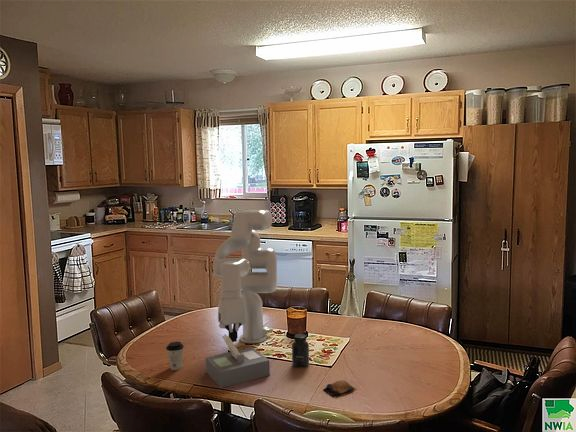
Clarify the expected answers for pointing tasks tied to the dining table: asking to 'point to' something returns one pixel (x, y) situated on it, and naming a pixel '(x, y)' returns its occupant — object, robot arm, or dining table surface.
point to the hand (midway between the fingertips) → (233, 340)
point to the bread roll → (339, 388)
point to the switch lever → (231, 346)
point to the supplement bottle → (300, 351)
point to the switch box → (237, 367)
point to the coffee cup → (175, 355)
